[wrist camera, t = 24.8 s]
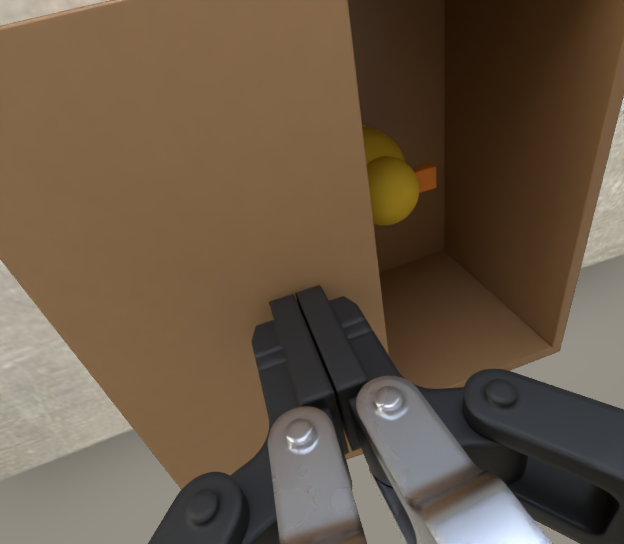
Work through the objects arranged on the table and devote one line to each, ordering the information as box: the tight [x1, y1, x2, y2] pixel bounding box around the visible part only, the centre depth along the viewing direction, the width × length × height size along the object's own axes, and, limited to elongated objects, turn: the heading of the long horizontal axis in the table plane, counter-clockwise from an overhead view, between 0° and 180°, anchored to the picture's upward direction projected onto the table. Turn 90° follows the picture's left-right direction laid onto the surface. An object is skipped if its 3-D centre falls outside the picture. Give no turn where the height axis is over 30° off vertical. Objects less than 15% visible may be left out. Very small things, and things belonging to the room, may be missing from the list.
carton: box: [0, 0, 624, 389], centre depth 17 cm, size 17×16×10 cm
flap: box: [0, 0, 388, 490], centre depth 12 cm, size 8×16×1 cm, turn 11°
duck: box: [362, 122, 437, 225], centre depth 18 cm, size 7×4×6 cm, turn 101°
